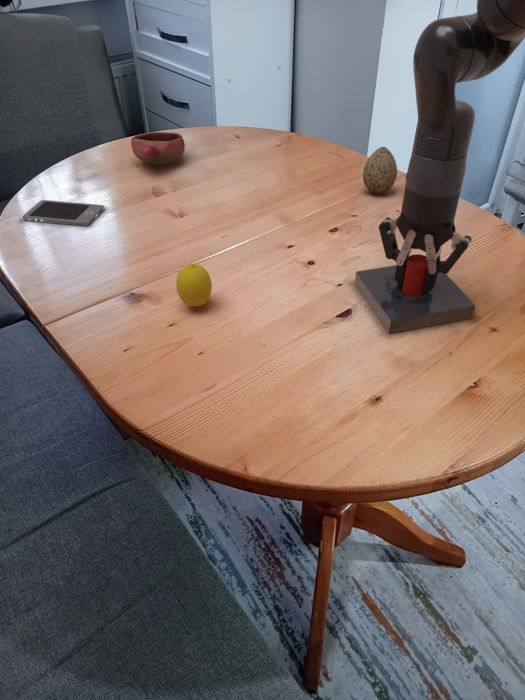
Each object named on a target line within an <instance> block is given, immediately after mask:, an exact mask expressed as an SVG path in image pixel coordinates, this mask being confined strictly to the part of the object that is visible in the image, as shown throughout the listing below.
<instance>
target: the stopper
mask: <svg viewBox="0 0 525 700" xmlns="http://www.w3.org/2000/svg"><path fill="white" fill-rule="evenodd" d="M427 271H428V261H427V260H426V255H424V254H418V253H417V254H416V253H415V254H410V255H409V257H408V258H407V261H406V267H405V273H404V279H403V284H402V290H401V292H402V293H404V294H406V295H410V296H422V295H424V292H423V287H424V282H425V277H426V273H427Z"/></svg>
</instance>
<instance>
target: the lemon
mask: <svg viewBox="0 0 525 700" xmlns="http://www.w3.org/2000/svg"><path fill="white" fill-rule="evenodd" d="M175 282H176V286H175V287H176V292H177V295H178V297H179V300H180V301H182V303H184V304H185V305H187V306H190V307H195V308H198V307H200V306H202V305H205V304H206V303H207V302H208V301H209V299H210V298H211V295H212V289H213V284H212V280H211V277H210V274H209V272H208V270H207V269H206V268H205V267H204V266H202V265H200V264H198V263H193V262H192V263H188V264H185V265H184V266H182V268H180V270H179V271H178V273H177V276H176V281H175Z"/></svg>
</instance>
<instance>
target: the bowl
mask: <svg viewBox="0 0 525 700" xmlns="http://www.w3.org/2000/svg"><path fill="white" fill-rule="evenodd" d="M130 143H131V144H130V145H131V150H132V153H133V154H134V156H135V157H136V158H137V159H139V160H140V161H142V162H144V163H146V164H148V165H152V166H164V165H170V164H173V163H175V162H176V161H178V160H180V159H181V158H182V156H183V155H184V153H185V149H186V145H185V140H184V138H183V135H181V134H180V133H178V132H163V131H152V132H144V133H140V134H137V135H134V136H133V137H132V138H131V141H130Z"/></svg>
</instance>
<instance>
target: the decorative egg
mask: <svg viewBox="0 0 525 700" xmlns="http://www.w3.org/2000/svg"><path fill="white" fill-rule="evenodd" d="M397 176H398V165H397V162H396V159H395V156H394V155H393V154H392V152H391V151H390V149H389V148H388V147H386V146H379V147H378V148H377V149H376V150H374V151H373V152H372V153H371V155H369V157H368V158H367V160H366V162H365V163H364V166H363V171H362V180H363V184H364V187H366V189H367V190H368V191H369V192H371V193H373V194H377V195H380V194H385V193H386V192H388V191H390V189H391V188H392V187H393V186H394V184H395V182H396V180H397Z"/></svg>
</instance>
